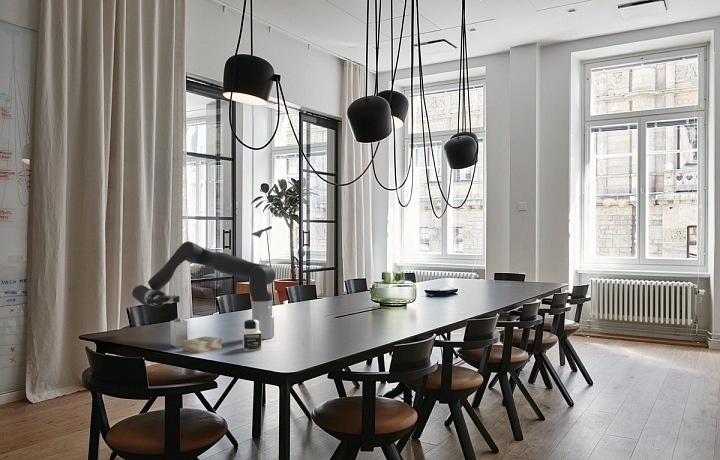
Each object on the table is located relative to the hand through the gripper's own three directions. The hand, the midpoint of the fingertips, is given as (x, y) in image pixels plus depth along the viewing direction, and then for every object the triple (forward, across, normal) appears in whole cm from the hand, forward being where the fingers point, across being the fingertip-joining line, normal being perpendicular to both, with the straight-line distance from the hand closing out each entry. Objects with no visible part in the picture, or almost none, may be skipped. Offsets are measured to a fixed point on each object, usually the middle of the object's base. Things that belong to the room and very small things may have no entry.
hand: (168, 301), depth 259 cm
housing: (+11, 0, +18) cm, 22 cm away
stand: (+25, +5, +18) cm, 31 cm away
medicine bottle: (+38, +21, +18) cm, 47 cm away
